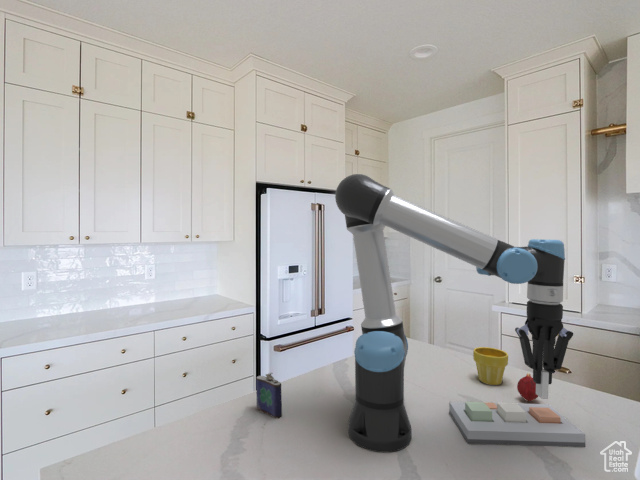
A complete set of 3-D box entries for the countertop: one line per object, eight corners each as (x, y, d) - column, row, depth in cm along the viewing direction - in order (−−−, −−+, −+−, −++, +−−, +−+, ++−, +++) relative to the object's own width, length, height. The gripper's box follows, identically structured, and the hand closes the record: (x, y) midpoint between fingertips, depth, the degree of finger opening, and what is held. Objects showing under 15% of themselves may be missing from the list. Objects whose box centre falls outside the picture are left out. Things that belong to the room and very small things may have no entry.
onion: (544, 406, 98) (544, 378, 98) (521, 405, 99) (521, 377, 99) (535, 397, 104) (535, 370, 103) (514, 395, 105) (514, 369, 105)
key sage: (472, 423, 85) (472, 410, 85) (465, 413, 90) (465, 401, 90) (492, 423, 85) (492, 411, 85) (484, 413, 90) (484, 402, 90)
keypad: (467, 443, 81) (467, 429, 81) (449, 412, 95) (449, 400, 95) (585, 446, 79) (585, 432, 79) (548, 415, 93) (548, 403, 93)
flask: (254, 408, 98) (254, 370, 98) (262, 404, 100) (262, 367, 100) (277, 419, 92) (277, 379, 92) (285, 415, 94) (285, 375, 94)
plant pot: (509, 378, 117) (509, 349, 117) (506, 390, 108) (506, 359, 108) (475, 372, 123) (475, 344, 123) (470, 383, 114) (470, 353, 114)
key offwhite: (505, 424, 85) (505, 411, 85) (496, 414, 90) (496, 402, 89) (526, 424, 84) (526, 412, 84) (516, 414, 89) (516, 402, 89)
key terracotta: (539, 429, 84) (539, 416, 84) (529, 418, 89) (529, 407, 89) (560, 429, 84) (560, 417, 84) (548, 419, 89) (548, 407, 89)
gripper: (525, 303, 83) (522, 402, 83) (582, 305, 82) (579, 405, 82) (510, 298, 90) (507, 388, 91) (562, 299, 90) (559, 390, 90)
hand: (541, 396), depth 87 cm, fingers closed
